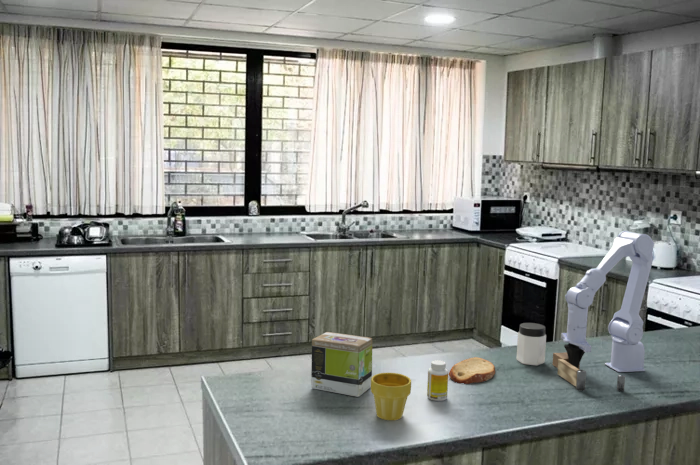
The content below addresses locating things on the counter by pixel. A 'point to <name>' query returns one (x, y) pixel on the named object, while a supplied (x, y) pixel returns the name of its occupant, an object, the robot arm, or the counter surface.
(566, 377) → the gate
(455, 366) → the bread slice
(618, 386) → the post
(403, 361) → the counter surface
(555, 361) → the block
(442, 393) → the supplement bottle
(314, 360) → the tea box
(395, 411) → the plant pot
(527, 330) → the jar
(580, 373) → the hinge post
